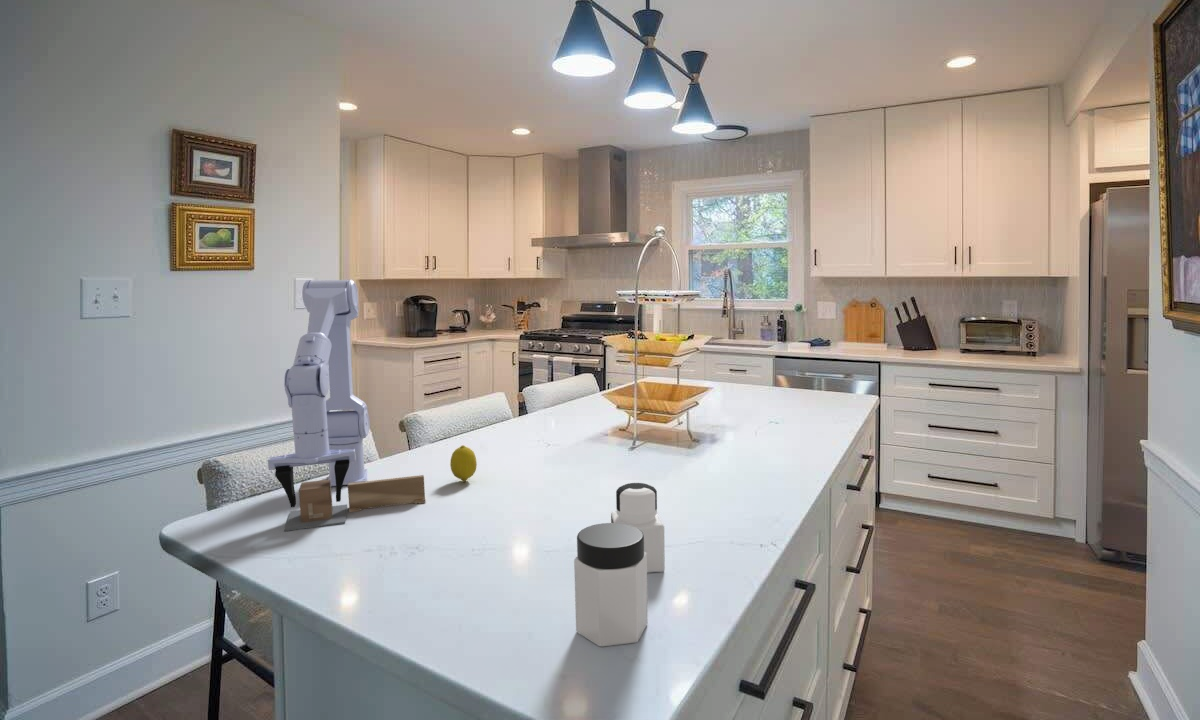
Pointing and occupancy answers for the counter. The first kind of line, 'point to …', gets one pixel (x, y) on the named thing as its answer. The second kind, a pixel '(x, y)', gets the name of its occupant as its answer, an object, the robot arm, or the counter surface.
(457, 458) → the lemon
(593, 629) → the jar
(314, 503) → the letter block
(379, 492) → the screen
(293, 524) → the mat
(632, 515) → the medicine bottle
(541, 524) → the counter surface
